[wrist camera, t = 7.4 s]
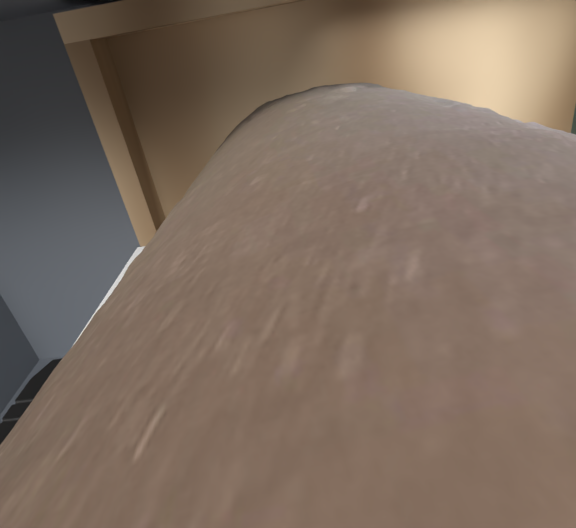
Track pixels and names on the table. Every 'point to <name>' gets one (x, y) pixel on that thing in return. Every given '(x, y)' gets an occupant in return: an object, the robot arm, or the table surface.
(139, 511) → the pillar candle
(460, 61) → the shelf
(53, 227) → the cradle
